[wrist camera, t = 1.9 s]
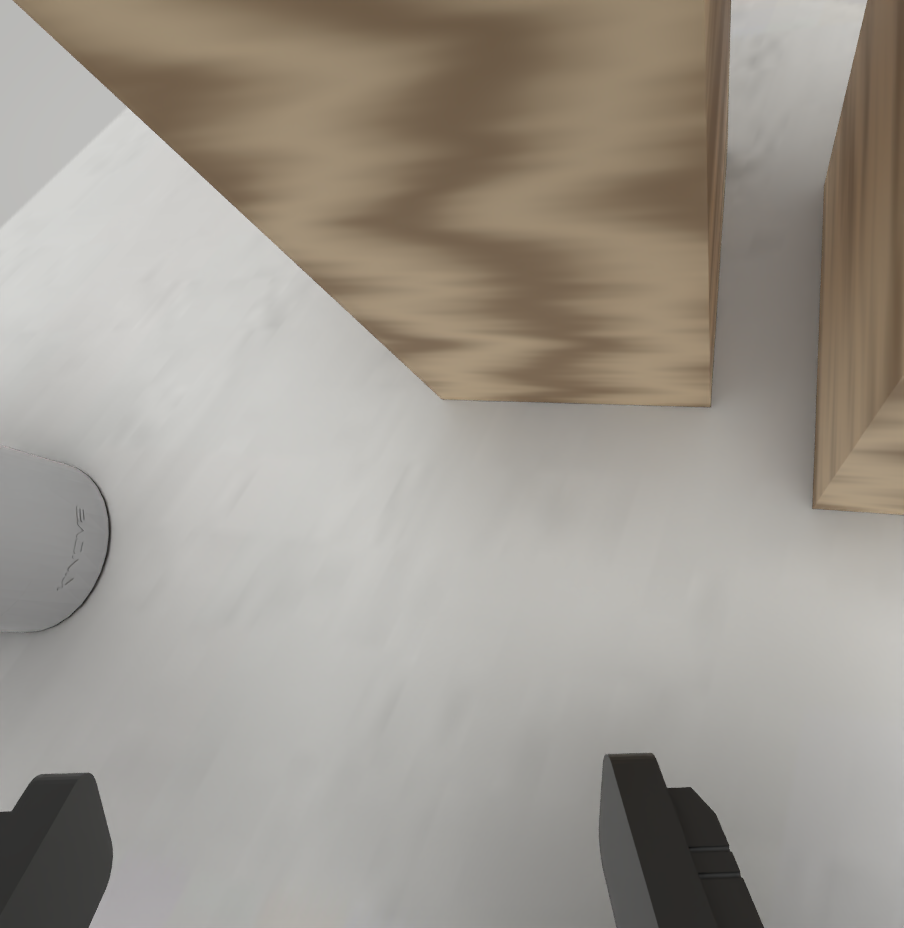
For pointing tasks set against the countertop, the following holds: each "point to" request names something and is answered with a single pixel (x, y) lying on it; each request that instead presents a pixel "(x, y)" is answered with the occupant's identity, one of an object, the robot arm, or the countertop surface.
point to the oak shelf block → (460, 170)
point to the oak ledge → (864, 283)
